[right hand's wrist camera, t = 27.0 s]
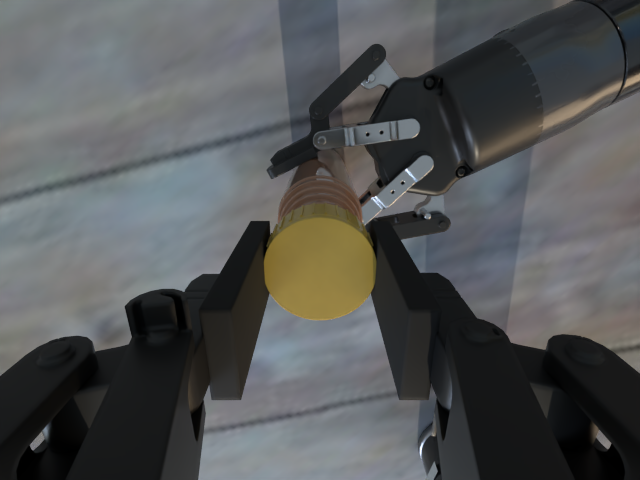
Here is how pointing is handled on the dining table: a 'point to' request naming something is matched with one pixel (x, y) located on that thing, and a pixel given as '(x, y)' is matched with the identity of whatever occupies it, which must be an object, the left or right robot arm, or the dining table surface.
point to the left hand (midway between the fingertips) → (288, 204)
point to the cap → (320, 262)
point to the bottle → (321, 185)
